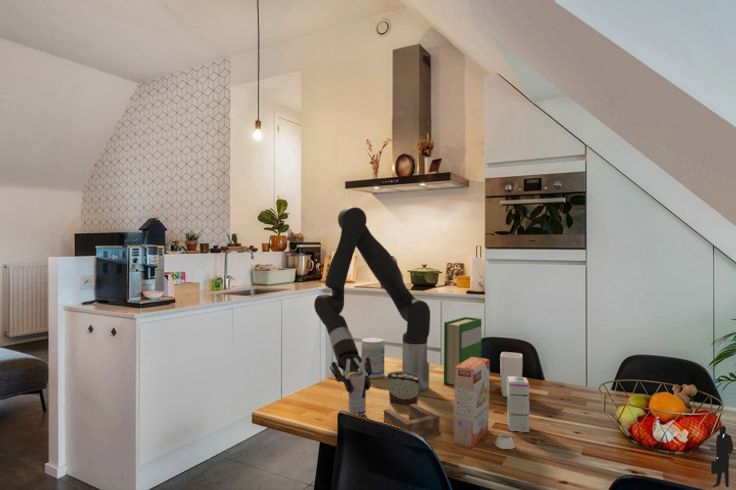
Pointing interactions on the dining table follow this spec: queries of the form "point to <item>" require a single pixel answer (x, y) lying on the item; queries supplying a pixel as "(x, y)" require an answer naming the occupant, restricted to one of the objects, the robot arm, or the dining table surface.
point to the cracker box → (471, 401)
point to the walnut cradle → (415, 421)
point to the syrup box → (518, 404)
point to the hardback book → (460, 344)
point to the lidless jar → (505, 442)
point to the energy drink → (357, 394)
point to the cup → (509, 368)
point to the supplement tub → (374, 355)
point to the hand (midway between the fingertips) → (359, 390)
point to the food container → (403, 388)
